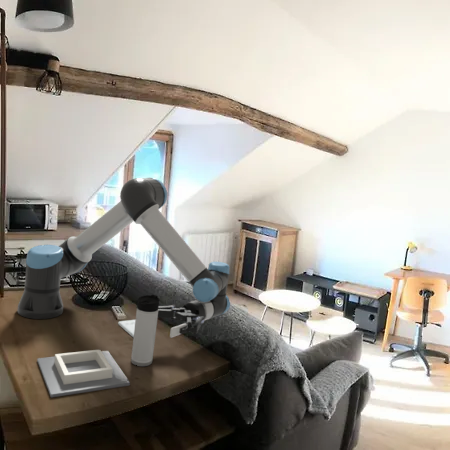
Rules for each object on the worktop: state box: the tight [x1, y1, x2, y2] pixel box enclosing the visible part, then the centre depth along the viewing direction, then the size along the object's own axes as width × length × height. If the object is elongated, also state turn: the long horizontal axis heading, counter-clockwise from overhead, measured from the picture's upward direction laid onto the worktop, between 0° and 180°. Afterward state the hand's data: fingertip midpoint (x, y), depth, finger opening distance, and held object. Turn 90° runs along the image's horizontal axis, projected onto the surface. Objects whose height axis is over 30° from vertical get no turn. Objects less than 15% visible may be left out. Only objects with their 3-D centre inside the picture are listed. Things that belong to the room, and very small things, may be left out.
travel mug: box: [130, 294, 160, 367], centre depth 133 cm, size 6×7×20 cm
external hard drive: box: [117, 318, 136, 339], centre depth 158 cm, size 2×8×12 cm
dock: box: [36, 349, 131, 398], centre depth 123 cm, size 20×20×3 cm
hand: (153, 325), depth 135 cm, fingers open, 13 cm apart
